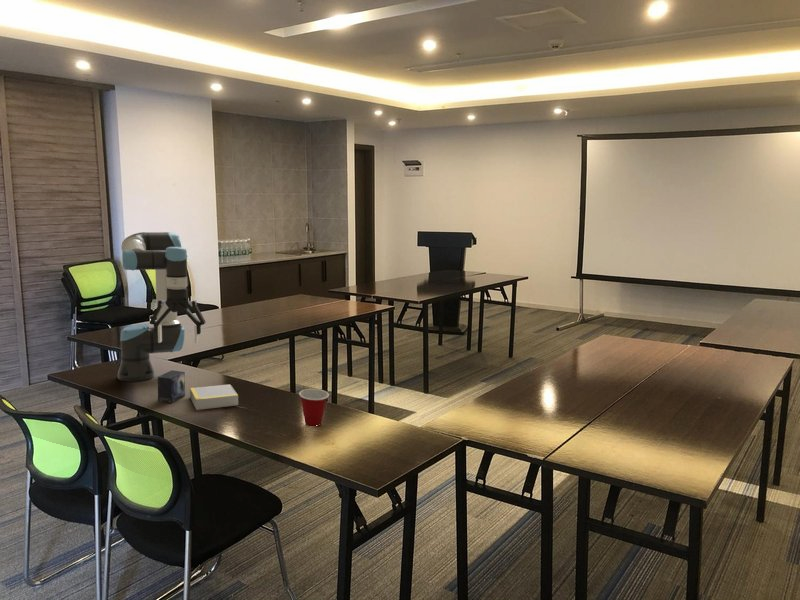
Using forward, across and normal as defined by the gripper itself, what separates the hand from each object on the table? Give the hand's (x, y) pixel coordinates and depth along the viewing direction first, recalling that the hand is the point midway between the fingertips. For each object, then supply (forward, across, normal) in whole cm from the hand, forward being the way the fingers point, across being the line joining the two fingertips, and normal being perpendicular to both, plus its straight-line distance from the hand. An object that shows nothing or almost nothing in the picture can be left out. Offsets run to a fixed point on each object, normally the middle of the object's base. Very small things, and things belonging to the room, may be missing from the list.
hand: (178, 342), depth 242 cm
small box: (+26, -5, +8) cm, 28 cm away
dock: (+25, +12, +5) cm, 29 cm away
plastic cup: (+26, +53, -22) cm, 62 cm away
